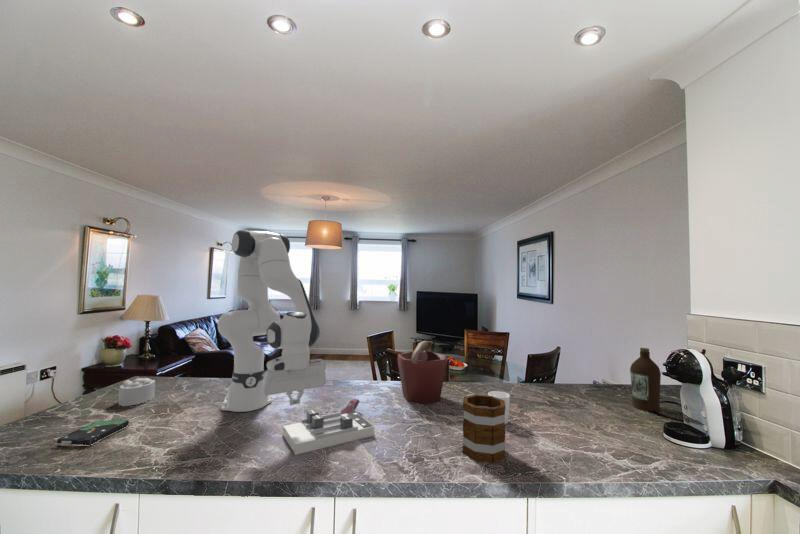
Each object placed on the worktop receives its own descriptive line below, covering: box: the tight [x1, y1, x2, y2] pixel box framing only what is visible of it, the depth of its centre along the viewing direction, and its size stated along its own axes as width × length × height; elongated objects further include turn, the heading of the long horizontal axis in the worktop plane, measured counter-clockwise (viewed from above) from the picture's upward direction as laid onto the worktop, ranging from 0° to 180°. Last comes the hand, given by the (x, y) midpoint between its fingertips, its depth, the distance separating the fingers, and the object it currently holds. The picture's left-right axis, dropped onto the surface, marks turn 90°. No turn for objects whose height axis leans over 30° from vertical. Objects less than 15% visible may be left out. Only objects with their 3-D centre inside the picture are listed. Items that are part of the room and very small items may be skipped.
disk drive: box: [56, 419, 130, 445], centre depth 109 cm, size 10×3×15 cm
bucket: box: [397, 340, 448, 406], centre depth 152 cm, size 24×22×25 cm
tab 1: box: [306, 409, 320, 424], centre depth 115 cm, size 3×3×4 cm
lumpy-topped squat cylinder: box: [118, 377, 156, 406], centre depth 141 cm, size 10×13×9 cm
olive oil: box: [629, 347, 662, 412], centre depth 145 cm, size 11×11×25 cm
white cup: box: [487, 390, 511, 425], centre depth 127 cm, size 8×8×10 cm
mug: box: [462, 393, 506, 464], centre depth 107 cm, size 20×14×15 cm
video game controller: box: [340, 397, 360, 414], centre depth 131 cm, size 10×5×7 cm, turn 169°
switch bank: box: [282, 411, 375, 456], centre depth 113 cm, size 15×26×4 cm, turn 122°
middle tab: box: [311, 414, 324, 429], centre depth 111 cm, size 3×3×4 cm
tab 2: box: [340, 415, 353, 430], centre depth 111 cm, size 3×3×4 cm
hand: (294, 404), depth 111 cm, fingers closed
